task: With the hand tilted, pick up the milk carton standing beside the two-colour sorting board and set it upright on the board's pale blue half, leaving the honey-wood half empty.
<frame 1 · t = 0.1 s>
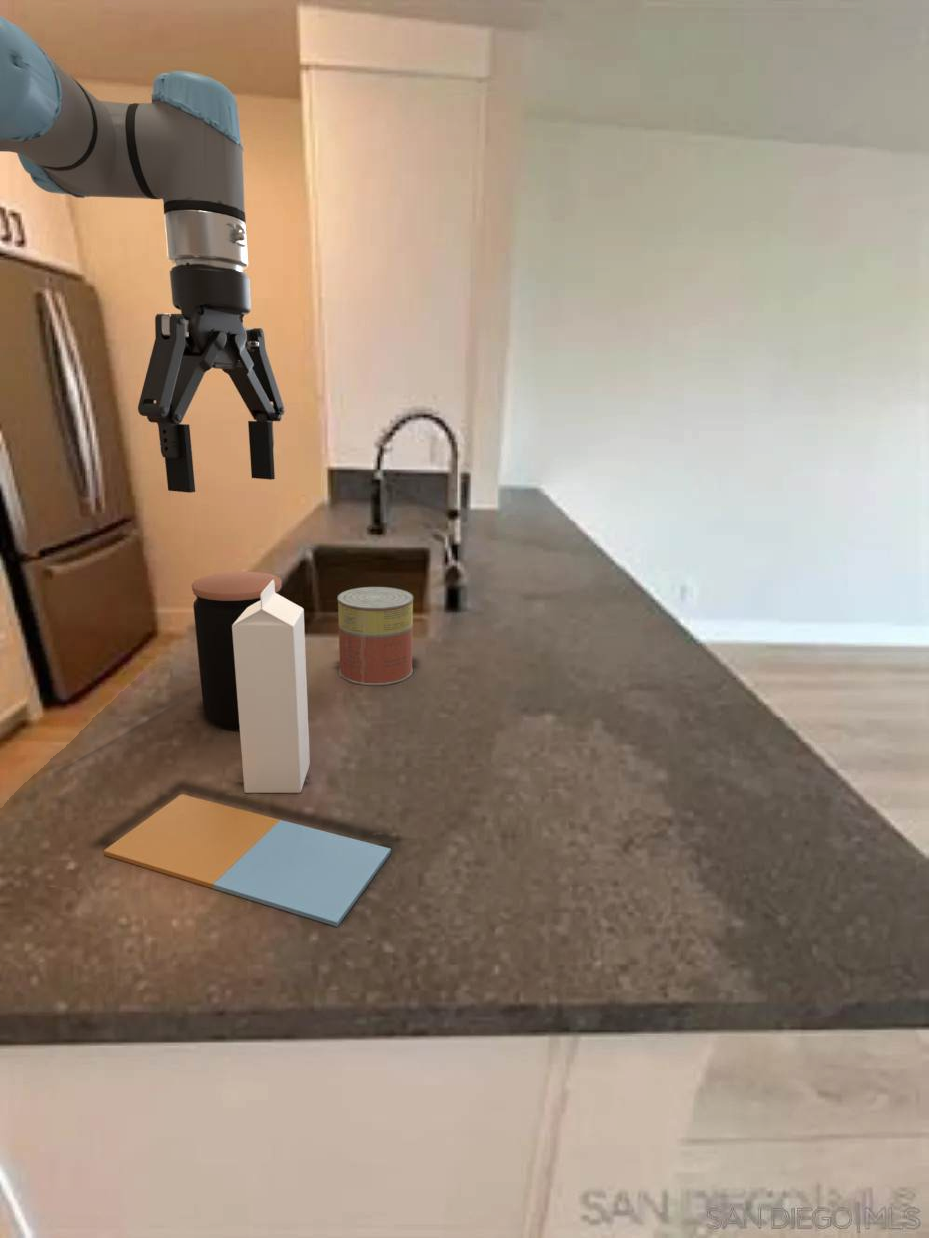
hand: (225, 484, 74), 31 cm above the counter, tool pointing down, fingers open, 13 cm apart
coffee jar: (247, 714, 89), on the counter
milk: (278, 779, 74), on the counter
sorting board: (249, 854, 62), on the counter
canned food: (376, 672, 104), on the counter
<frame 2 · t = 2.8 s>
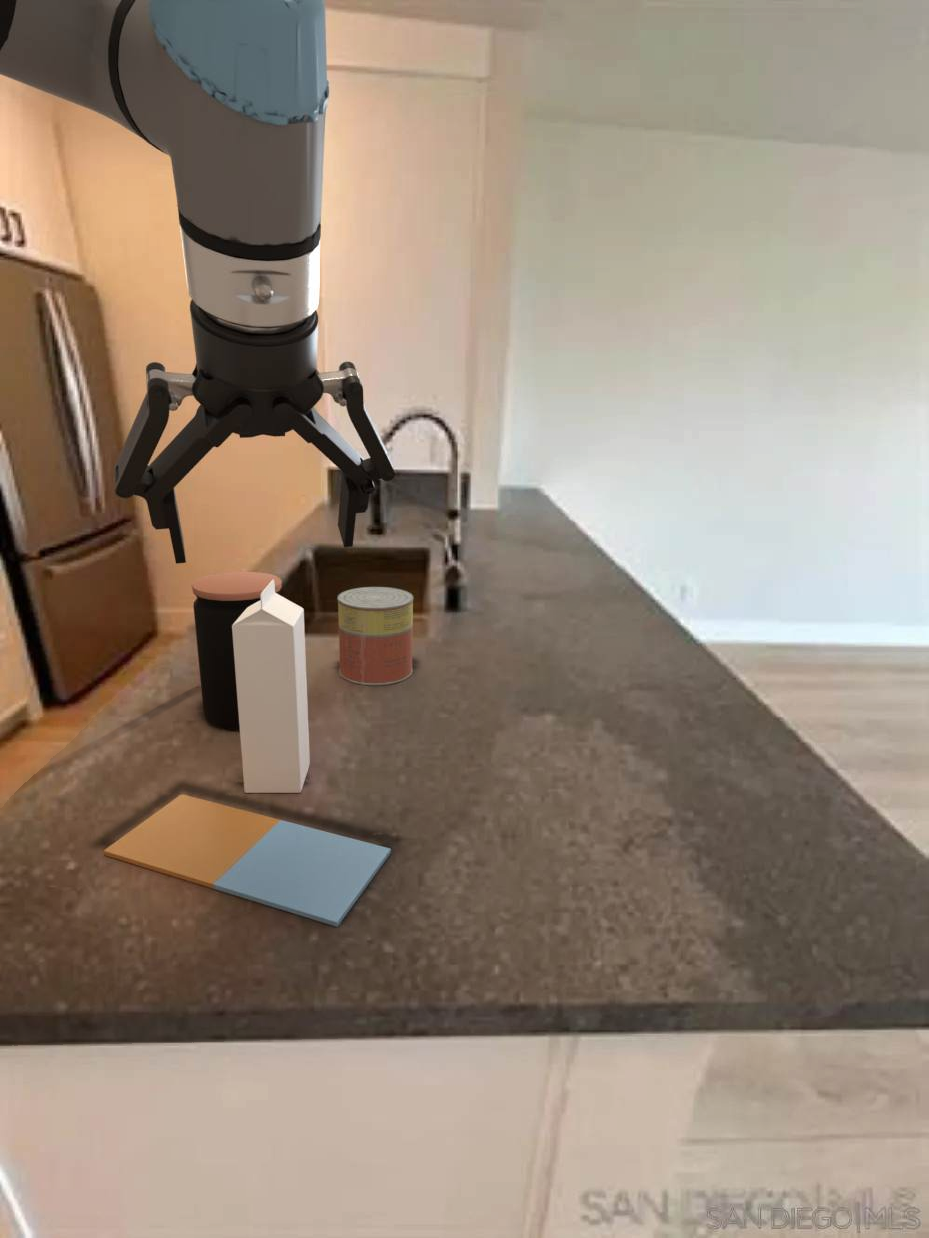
hand: (265, 543, 57), 28 cm above the counter, tool tilted 35°, fingers open, 13 cm apart
nothing on the counter moved.
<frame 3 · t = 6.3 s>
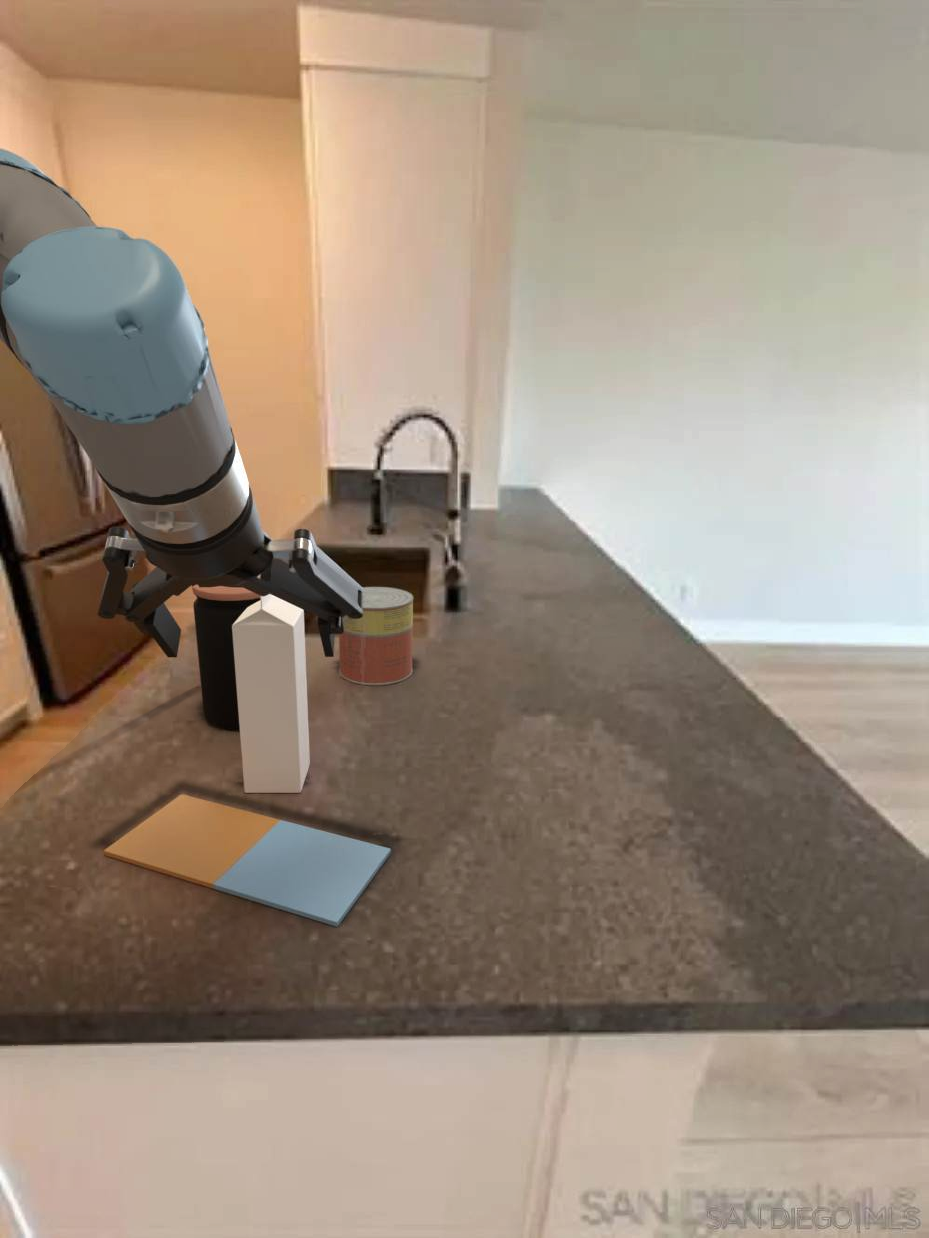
hand: (253, 643, 60), 19 cm above the counter, tool tilted 45°, fingers open, 13 cm apart
nothing on the counter moved.
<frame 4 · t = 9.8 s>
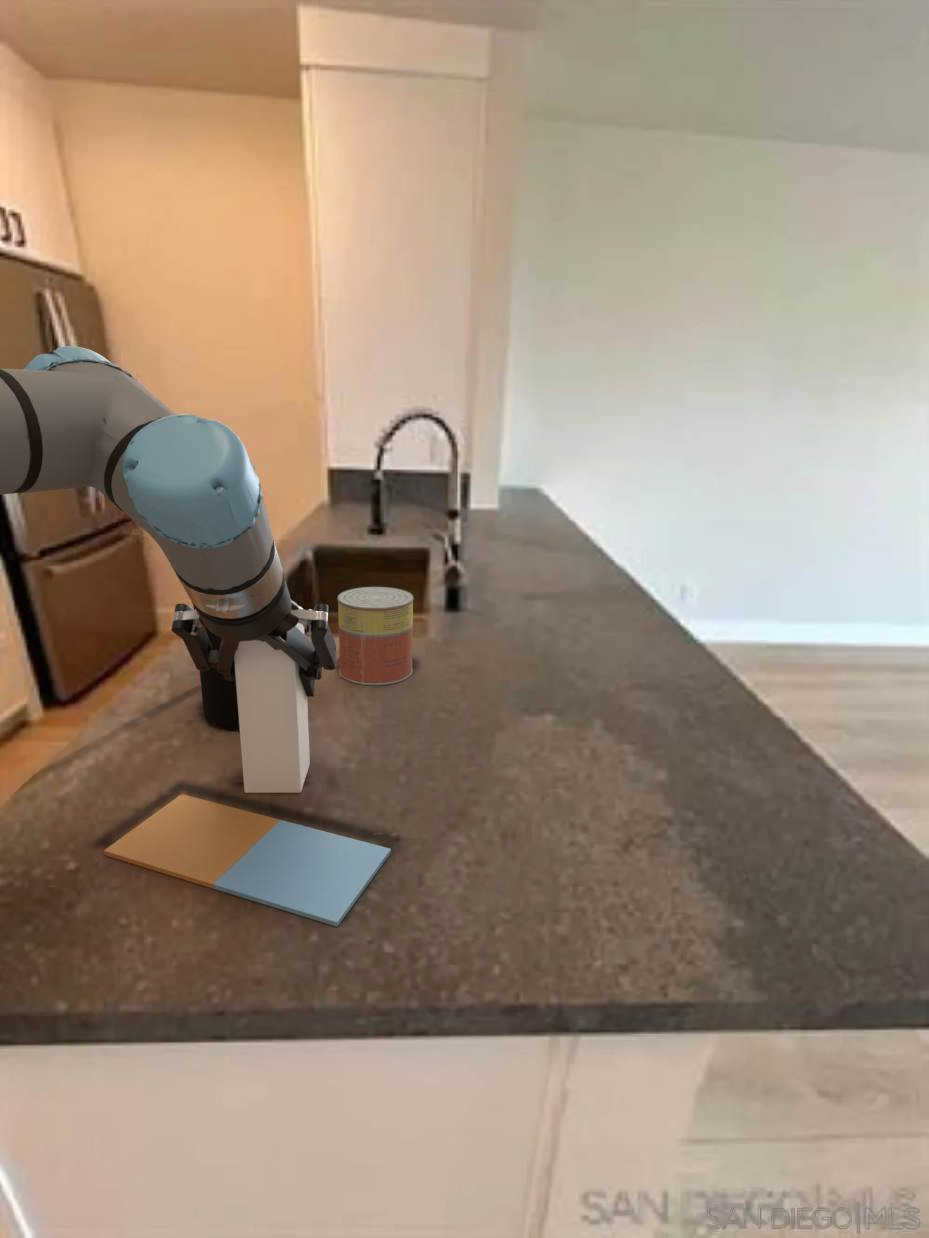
hand: (279, 685, 75), 10 cm above the counter, tool tilted 45°, fingers closed on milk, 6 cm apart
milk: (278, 779, 74), on the counter, touching gripper
everything else where it was.
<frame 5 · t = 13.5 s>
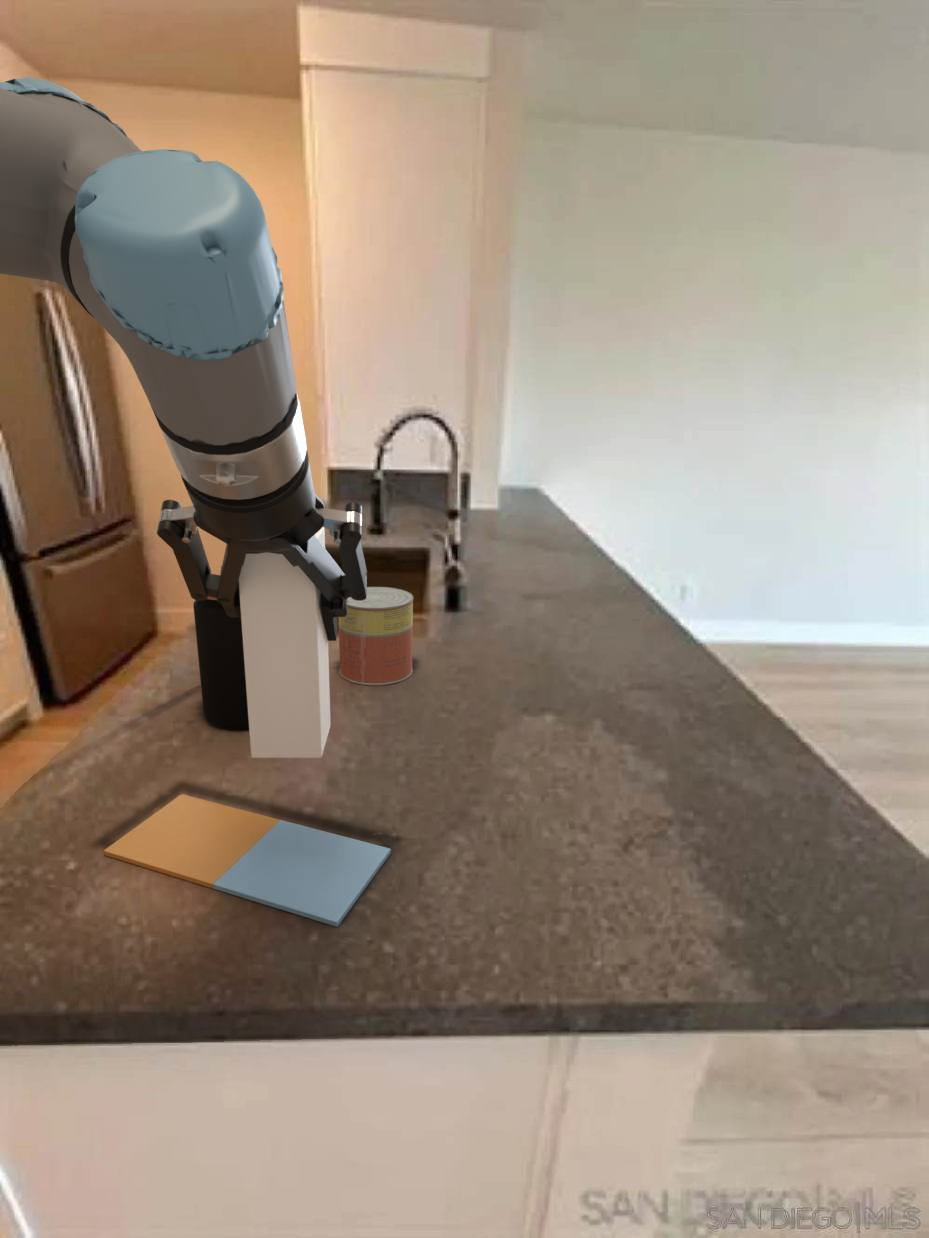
hand: (293, 627, 61), 20 cm above the counter, tool tilted 45°, fingers closed on milk, 6 cm apart
milk: (293, 743, 60), point 11 cm above the counter, touching gripper
everything else where it was.
when the fingers open (10 cm above the counter, at t = 17.1 s): milk stays where it is, resting on sorting board.
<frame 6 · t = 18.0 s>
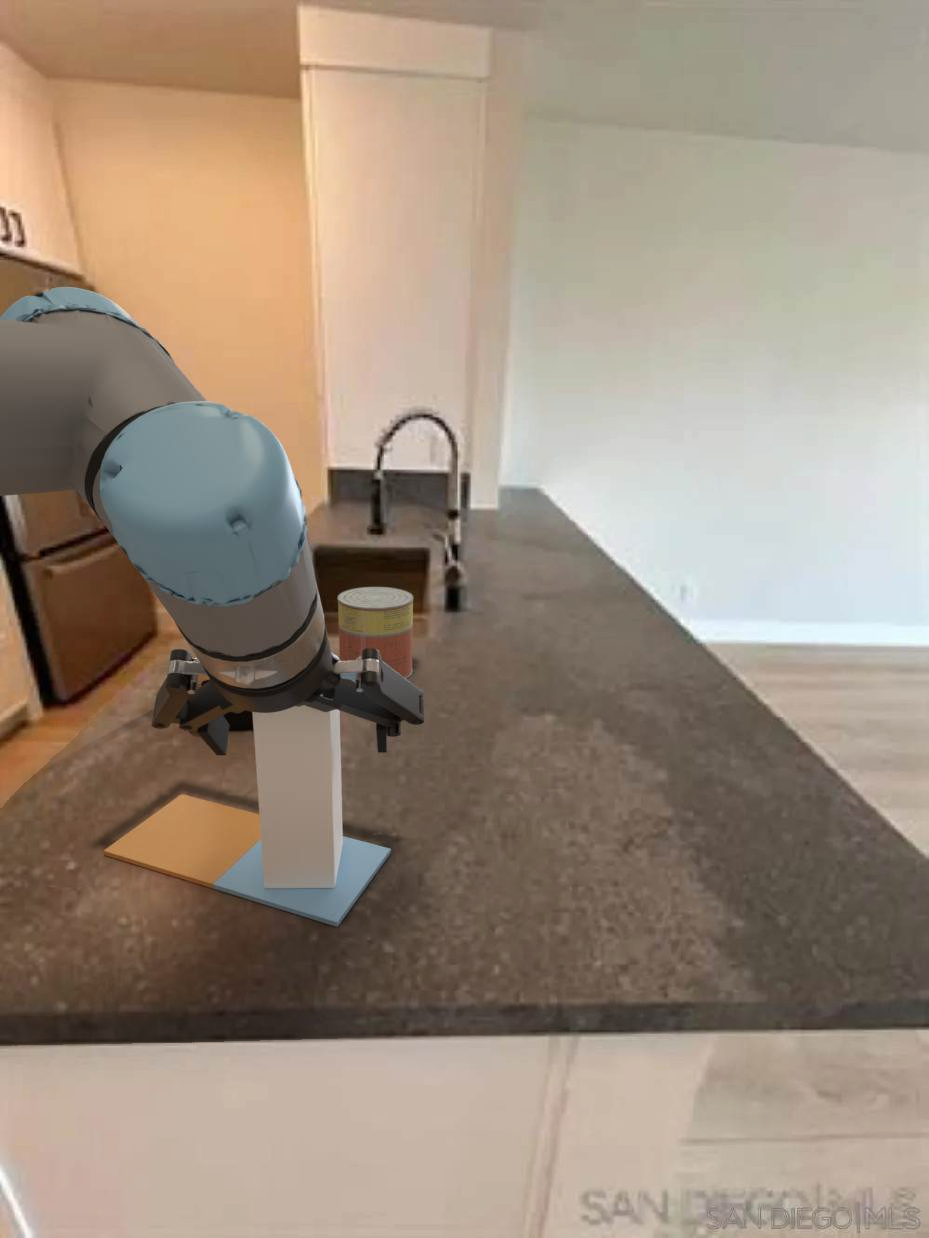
hand: (303, 738, 59), 12 cm above the counter, tool tilted 45°, fingers open, 13 cm apart
milk: (305, 867, 60), resting on sorting board
everything else where it was.
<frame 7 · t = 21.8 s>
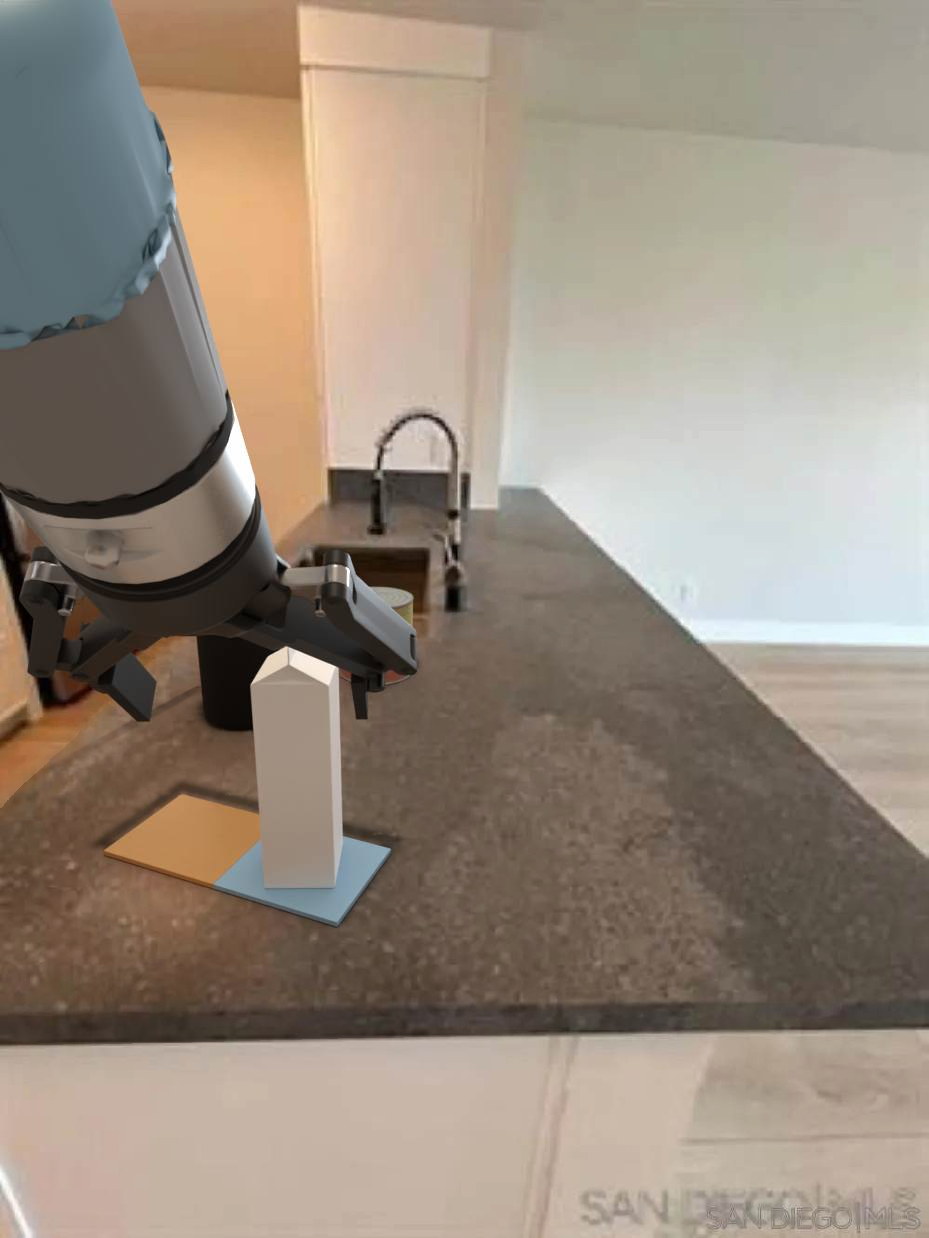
hand: (256, 700, 44), 21 cm above the counter, tool tilted 45°, fingers open, 13 cm apart
nothing on the counter moved.
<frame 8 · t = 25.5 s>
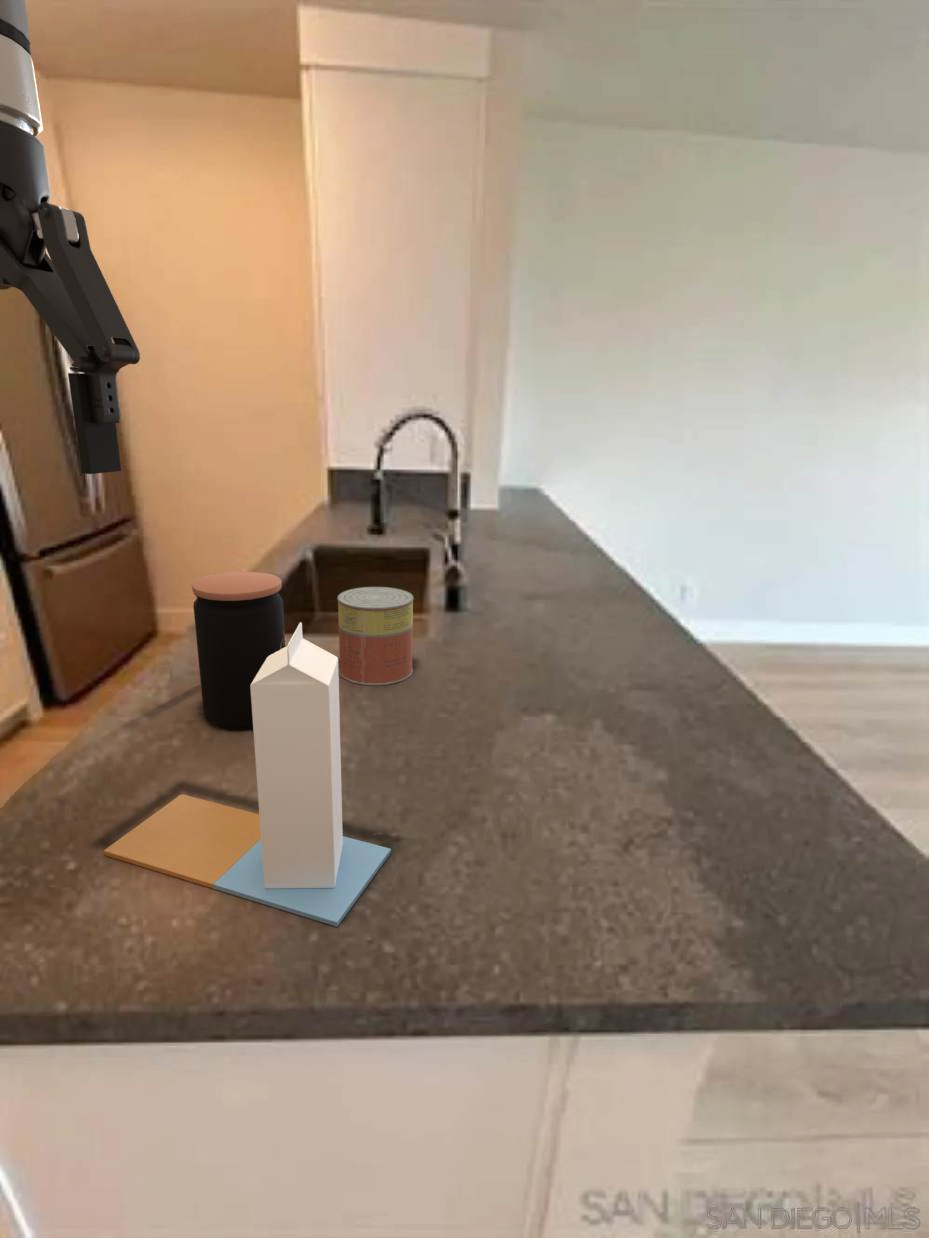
hand: (30, 466, 49), 35 cm above the counter, tool pointing down, fingers open, 13 cm apart
nothing on the counter moved.
at the end: milk inside the target area (0.1 cm from its centre), resting on sorting board; milk tilted 0°; the gripper is holding nothing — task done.
